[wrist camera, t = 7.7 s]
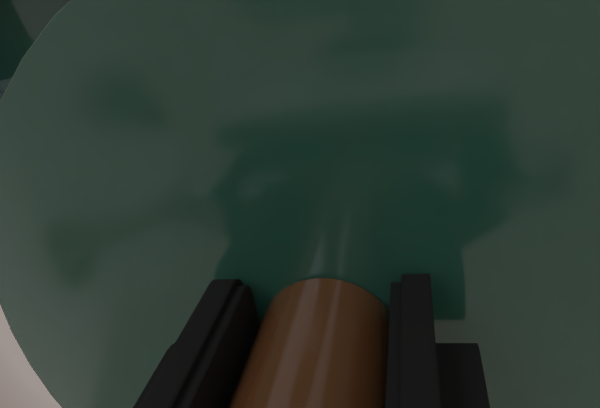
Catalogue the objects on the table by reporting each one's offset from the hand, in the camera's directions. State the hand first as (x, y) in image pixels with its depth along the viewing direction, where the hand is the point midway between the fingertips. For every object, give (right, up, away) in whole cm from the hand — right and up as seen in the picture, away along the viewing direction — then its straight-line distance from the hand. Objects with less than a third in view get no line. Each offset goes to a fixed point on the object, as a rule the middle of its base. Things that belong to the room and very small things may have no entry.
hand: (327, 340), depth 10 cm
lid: (0, 0, +1) cm, 1 cm away
